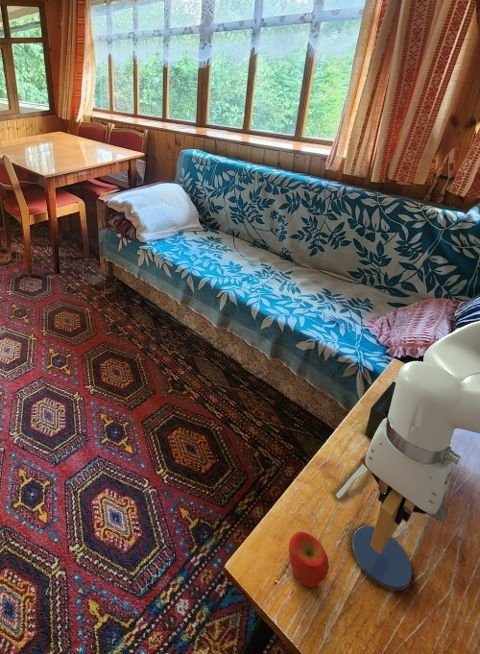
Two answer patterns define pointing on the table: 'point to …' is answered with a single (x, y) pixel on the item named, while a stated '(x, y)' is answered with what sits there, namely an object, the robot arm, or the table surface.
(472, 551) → the table surface
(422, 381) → the robot arm
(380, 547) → the toast
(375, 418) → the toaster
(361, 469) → the butter knife
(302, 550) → the apple
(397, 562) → the plate
